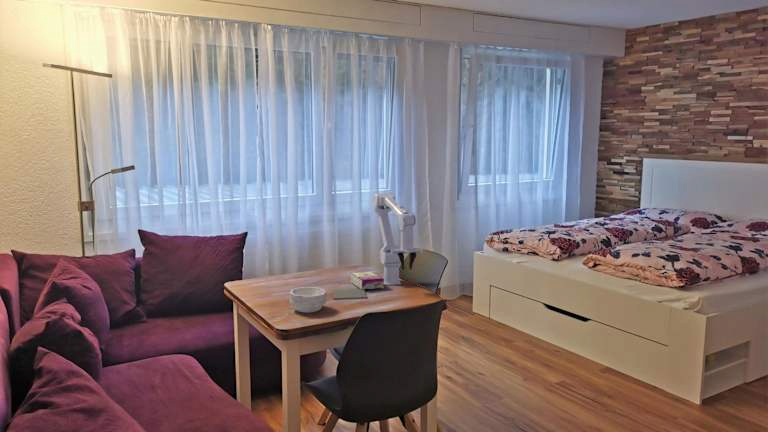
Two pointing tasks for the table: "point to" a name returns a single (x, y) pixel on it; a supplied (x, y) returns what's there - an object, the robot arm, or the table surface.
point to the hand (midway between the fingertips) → (406, 268)
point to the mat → (349, 294)
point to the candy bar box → (367, 280)
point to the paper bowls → (308, 299)
